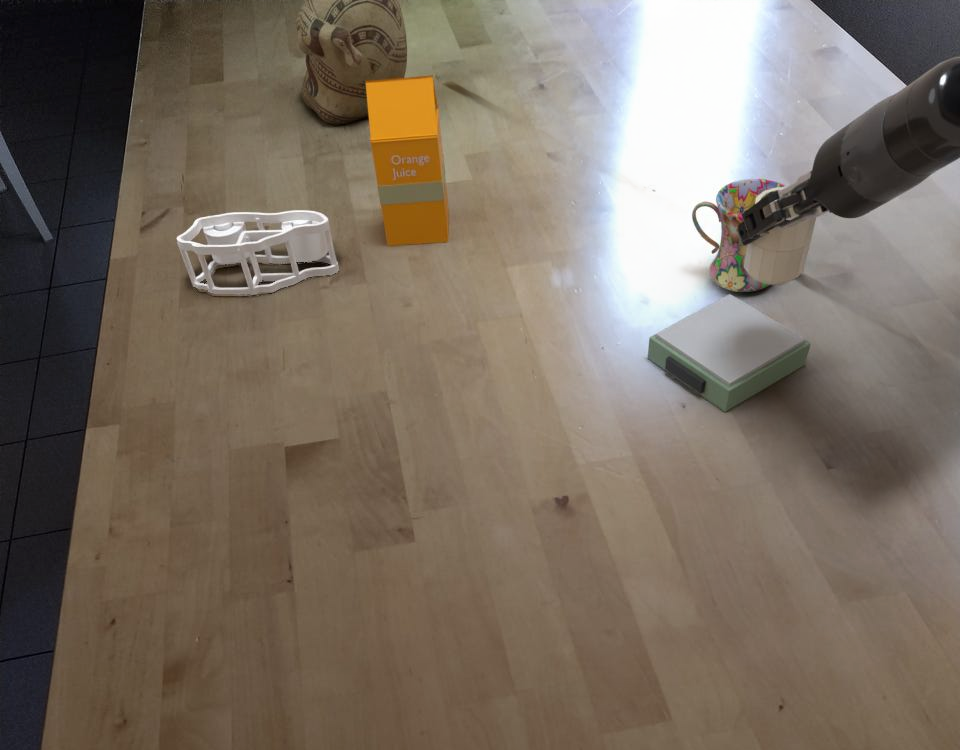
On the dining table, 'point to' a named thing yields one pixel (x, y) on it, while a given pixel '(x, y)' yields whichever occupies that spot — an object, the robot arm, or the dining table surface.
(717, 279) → the mug
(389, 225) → the orange juice
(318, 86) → the ceramic vessel
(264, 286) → the white lattice frame
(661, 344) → the scale
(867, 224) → the dining table surface
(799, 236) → the pen cup
